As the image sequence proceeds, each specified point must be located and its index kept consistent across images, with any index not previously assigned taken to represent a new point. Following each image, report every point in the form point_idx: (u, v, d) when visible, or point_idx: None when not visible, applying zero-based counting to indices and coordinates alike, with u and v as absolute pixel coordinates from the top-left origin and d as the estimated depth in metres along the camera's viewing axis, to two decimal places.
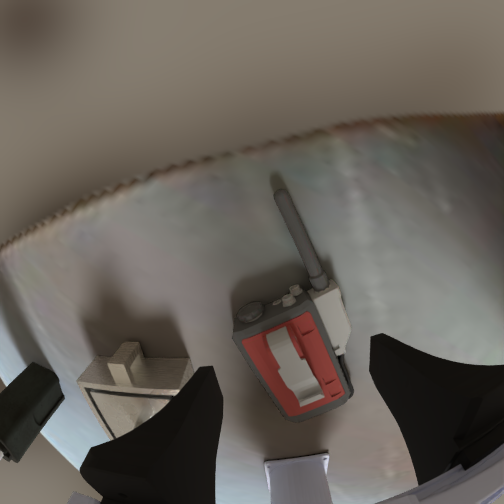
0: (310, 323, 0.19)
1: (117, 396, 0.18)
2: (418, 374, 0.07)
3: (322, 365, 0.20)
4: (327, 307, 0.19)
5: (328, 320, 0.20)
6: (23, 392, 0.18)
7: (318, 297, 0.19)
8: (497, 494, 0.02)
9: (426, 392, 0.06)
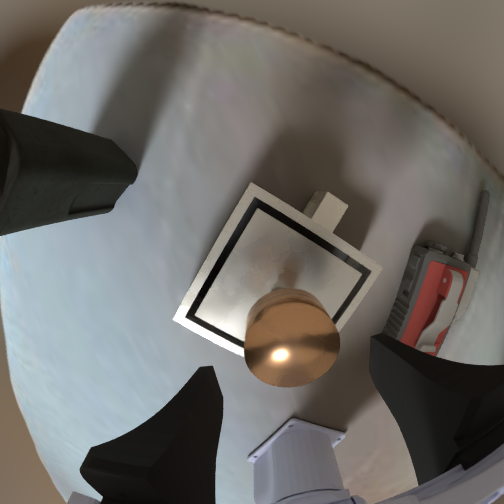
0: None
1: (300, 236, 0.16)
2: (418, 374, 0.07)
3: None
4: (470, 280, 0.19)
5: (465, 290, 0.20)
6: (93, 148, 0.14)
7: (471, 269, 0.19)
8: (497, 494, 0.02)
9: (426, 392, 0.06)
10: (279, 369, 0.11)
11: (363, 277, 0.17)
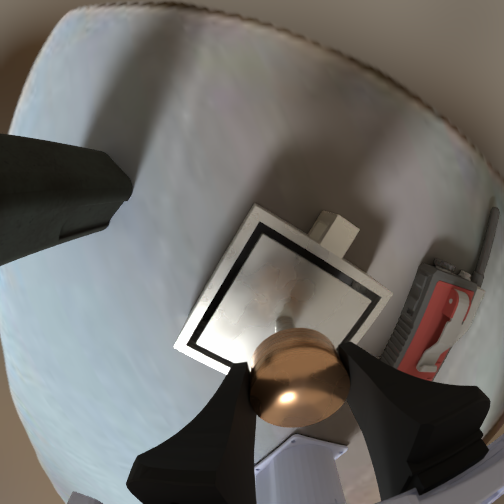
0: None
1: (308, 263, 0.15)
2: (377, 389, 0.07)
3: None
4: (475, 300, 0.18)
5: (469, 310, 0.19)
6: (83, 167, 0.13)
7: (477, 288, 0.18)
8: (497, 494, 0.02)
9: (383, 409, 0.06)
10: (286, 412, 0.10)
11: (372, 303, 0.16)
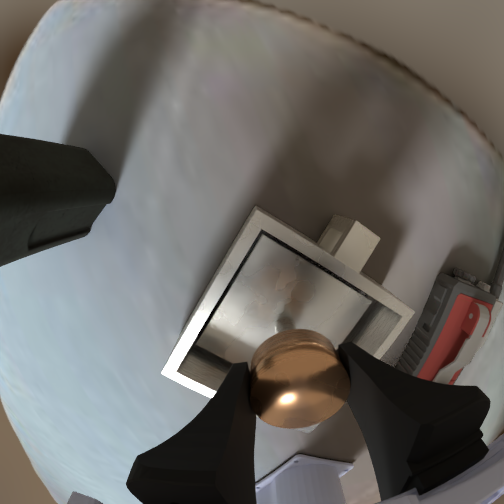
0: None
1: (308, 264, 0.15)
2: (377, 389, 0.07)
3: None
4: (492, 313, 0.16)
5: None
6: (53, 165, 0.10)
7: (495, 301, 0.15)
8: (497, 494, 0.02)
9: (383, 409, 0.06)
10: (286, 413, 0.10)
11: (391, 323, 0.13)
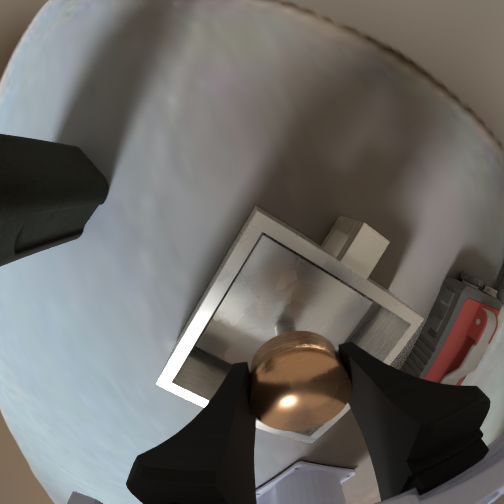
0: None
1: (309, 265, 0.15)
2: (377, 389, 0.07)
3: None
4: (497, 319, 0.15)
5: None
6: (41, 164, 0.09)
7: (501, 306, 0.15)
8: (497, 494, 0.02)
9: (383, 408, 0.06)
10: (287, 416, 0.10)
11: (399, 331, 0.12)
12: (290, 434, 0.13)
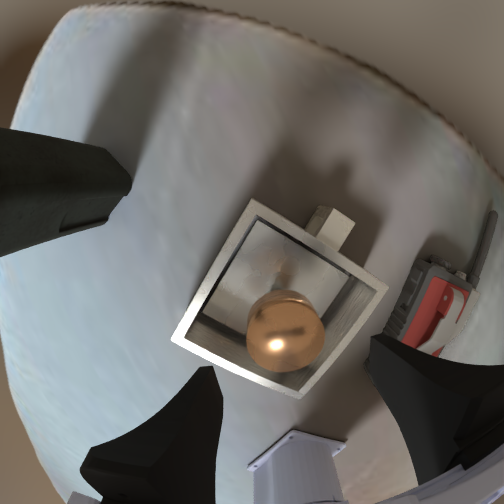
0: None
1: (294, 244, 0.19)
2: (418, 374, 0.07)
3: None
4: (469, 301, 0.19)
5: (463, 311, 0.19)
6: (83, 161, 0.13)
7: (472, 290, 0.18)
8: (497, 494, 0.02)
9: (426, 392, 0.06)
10: (275, 356, 0.13)
11: (368, 297, 0.16)
12: (281, 388, 0.17)
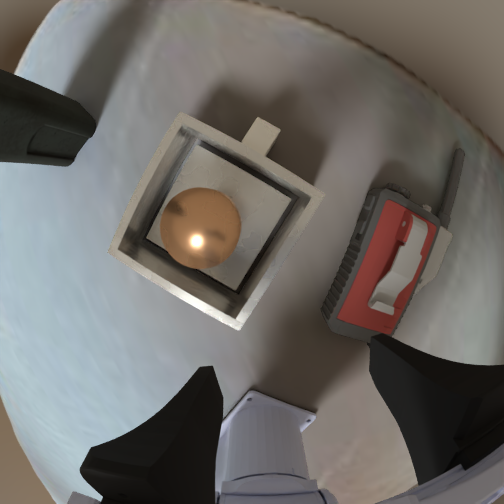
0: (431, 238, 0.18)
1: (232, 165, 0.19)
2: (418, 374, 0.07)
3: (409, 283, 0.18)
4: (440, 241, 0.19)
5: (433, 251, 0.19)
6: (53, 99, 0.13)
7: (442, 227, 0.18)
8: (497, 494, 0.02)
9: (426, 392, 0.06)
10: (189, 247, 0.13)
11: (304, 206, 0.16)
12: (216, 313, 0.17)
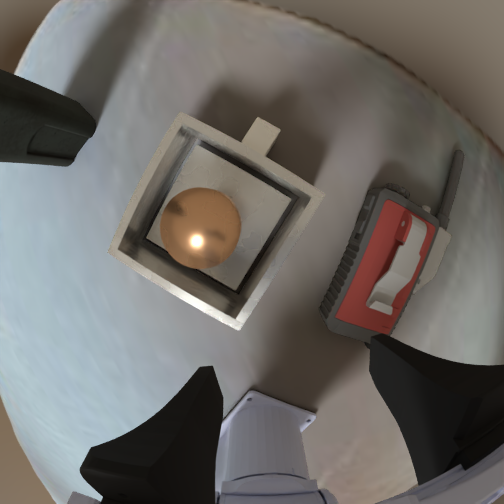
0: (430, 238, 0.18)
1: (232, 165, 0.19)
2: (418, 374, 0.07)
3: (407, 283, 0.19)
4: (439, 241, 0.19)
5: (432, 252, 0.19)
6: (53, 99, 0.13)
7: (440, 228, 0.19)
8: (497, 494, 0.02)
9: (426, 392, 0.06)
10: (189, 247, 0.13)
11: (304, 206, 0.16)
12: (216, 313, 0.17)
